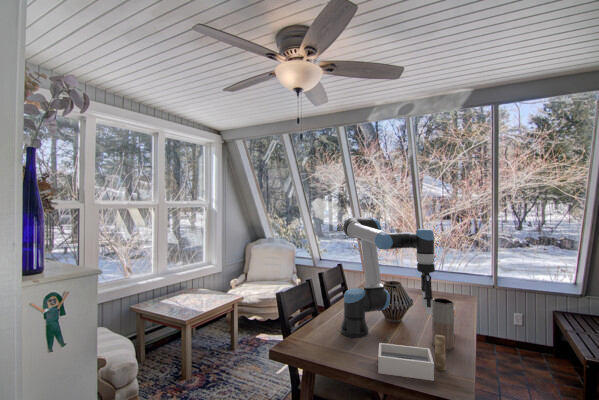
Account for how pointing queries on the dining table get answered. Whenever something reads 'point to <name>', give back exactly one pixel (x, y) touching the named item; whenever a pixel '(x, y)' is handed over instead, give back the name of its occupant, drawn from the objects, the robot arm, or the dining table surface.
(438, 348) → the dowel
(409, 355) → the box
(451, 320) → the planter
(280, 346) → the dining table surface
